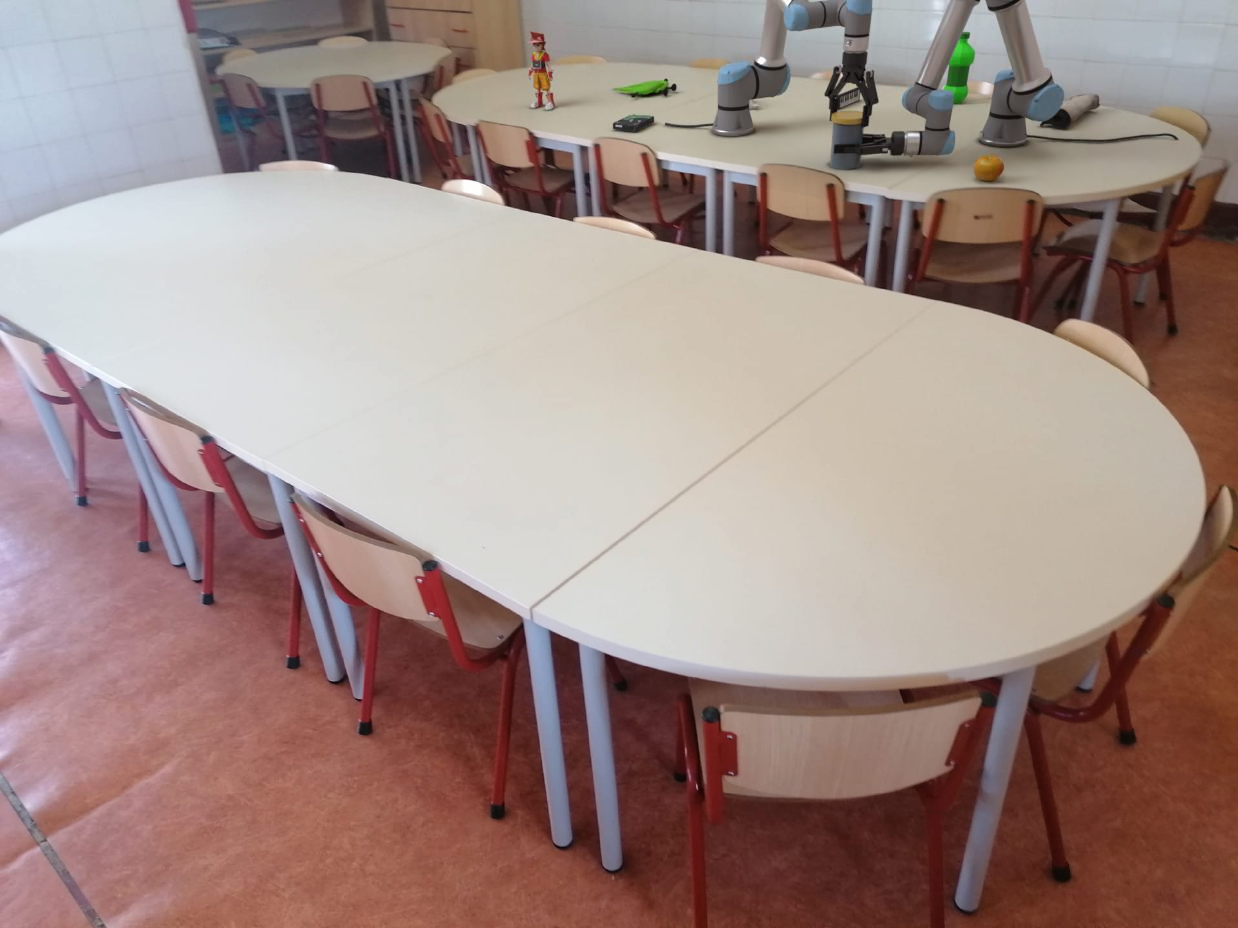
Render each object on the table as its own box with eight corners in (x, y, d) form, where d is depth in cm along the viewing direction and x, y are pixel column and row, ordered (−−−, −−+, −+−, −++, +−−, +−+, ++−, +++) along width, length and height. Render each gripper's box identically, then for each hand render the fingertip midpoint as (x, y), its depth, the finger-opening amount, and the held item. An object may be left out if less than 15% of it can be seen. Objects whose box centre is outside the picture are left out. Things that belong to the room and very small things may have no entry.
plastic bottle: (973, 101, 354) (984, 32, 339) (955, 106, 349) (966, 36, 335) (952, 97, 361) (962, 29, 346) (934, 102, 356) (944, 33, 342)
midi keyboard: (837, 109, 354) (838, 96, 352) (834, 109, 355) (835, 95, 352) (859, 100, 365) (861, 87, 362) (857, 99, 366) (858, 86, 363)
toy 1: (525, 109, 381) (517, 32, 364) (534, 104, 388) (527, 28, 371) (550, 110, 377) (543, 32, 360) (559, 105, 384) (553, 28, 367)
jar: (836, 170, 291) (841, 122, 283) (825, 162, 299) (828, 115, 291) (865, 167, 293) (870, 119, 284) (852, 159, 301) (857, 112, 292)
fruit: (968, 171, 273) (986, 147, 270) (968, 173, 280) (985, 150, 277) (991, 186, 271) (1009, 163, 268) (990, 188, 279) (1008, 165, 276)
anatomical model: (725, 81, 368) (749, 74, 367) (729, 106, 374) (753, 100, 373) (732, 89, 356) (756, 82, 355) (736, 115, 362) (760, 109, 361)
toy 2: (686, 85, 398) (631, 84, 414) (685, 72, 395) (629, 72, 411) (651, 104, 381) (596, 103, 397) (650, 92, 378) (594, 91, 394)
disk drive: (635, 133, 342) (654, 123, 352) (635, 125, 340) (654, 115, 350) (612, 130, 346) (632, 120, 356) (612, 123, 345) (631, 113, 355)
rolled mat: (1067, 99, 337) (1091, 81, 329) (1080, 119, 338) (1105, 102, 330) (1036, 120, 320) (1061, 102, 312) (1050, 141, 321) (1075, 124, 312)
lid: (851, 114, 294) (852, 108, 293) (874, 121, 286) (875, 115, 285) (823, 119, 290) (824, 114, 289) (846, 126, 282) (846, 121, 281)
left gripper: (816, 49, 282) (811, 120, 294) (880, 57, 266) (872, 132, 279) (831, 45, 286) (826, 115, 298) (895, 53, 270) (887, 127, 283)
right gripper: (906, 165, 283) (834, 166, 286) (898, 145, 301) (830, 146, 304) (909, 141, 278) (836, 142, 282) (901, 122, 297) (832, 123, 300)
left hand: (848, 123), depth 289 cm, fingers open, 12 cm apart
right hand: (833, 144), depth 293 cm, fingers closed on jar, 10 cm apart
